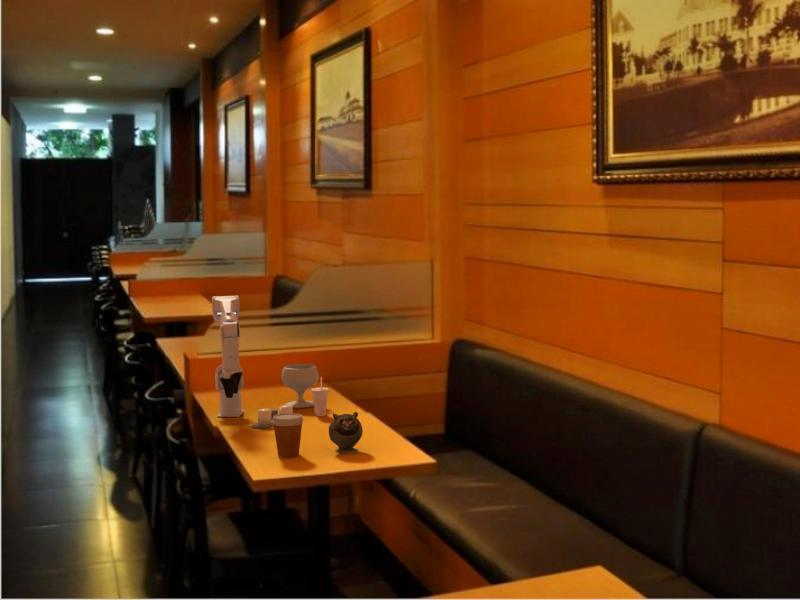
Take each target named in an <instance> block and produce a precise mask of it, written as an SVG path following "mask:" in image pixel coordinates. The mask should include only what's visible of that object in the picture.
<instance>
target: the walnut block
mask: <svg viewBox="0 0 800 600" xmlns="http://www.w3.org/2000/svg"><path fill="white" fill-rule="evenodd" d="M269 409H271V421H272V420H273V416H275V415H277V414H279V413H278V412H279V410H278V409H279V408H277V407H276V408H269Z"/></svg>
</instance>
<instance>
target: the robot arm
mask: <svg viewBox="0 0 800 600" xmlns="http://www.w3.org/2000/svg"><path fill="white" fill-rule="evenodd" d="M240 308H241V307H240V296H239V295H223V296H222V295H221V296H220V295H219V296H218V295H217V296H215V295H214V296H212V297H211V311H212V318H213V321H214V322H216V323H218V325H219V329H220V330H219V333H220V334H219V335H220V344H221V346H220V347H221V360H222V361H221V362H222V364H220V365H219V366H218V367H216V369H215V371H214V373H215V374H214V376H215V377H214V379H215V380H214V381H215V389H216V390H217V391H219V413H218V414H217V416H216V417H217V418H218V417H219V418H220V417H222V418H223V417H225V418H228V417H229V418H230V417H232V418H235V417H237V418H239V417H240V416H241V415H242V414H243V413H244V412H245V410H244V409H242V394H241V390H242V389H243V388H244V373H243V371H244V368H242V366H240V340H239V339H240V336H241V327H240V326H241V325H240V322H239V321H238V320H239V316H240Z"/></svg>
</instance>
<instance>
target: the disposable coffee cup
mask: <svg viewBox="0 0 800 600" xmlns="http://www.w3.org/2000/svg"><path fill="white" fill-rule="evenodd" d="M272 422H273V424H274V428H273V429H274V435H275V442H276V443H275V444H276V450H277V451H276V452H277V456H278V457H281V458H296V457H299V456H300V447H301V438H302V427H303V423H304V418H303V415H302V414H300V413H283V414H280V413H278V414H277V415H275V416H273V420H272Z"/></svg>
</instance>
